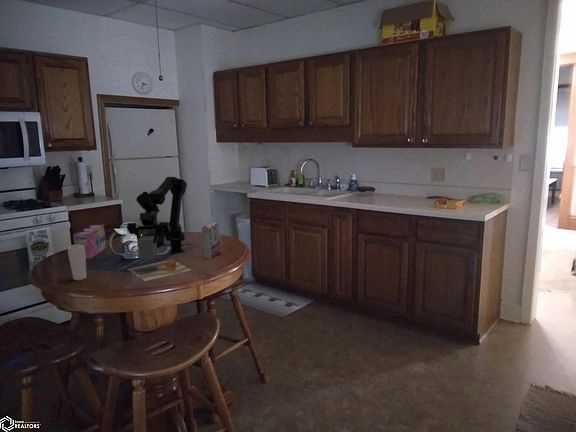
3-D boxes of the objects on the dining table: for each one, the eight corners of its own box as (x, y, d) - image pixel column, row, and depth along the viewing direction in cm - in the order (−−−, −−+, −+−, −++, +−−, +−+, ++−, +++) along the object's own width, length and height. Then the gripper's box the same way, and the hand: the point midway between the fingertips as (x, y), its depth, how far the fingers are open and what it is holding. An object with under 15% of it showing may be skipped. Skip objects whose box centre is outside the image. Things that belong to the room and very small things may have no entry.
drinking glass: (75, 276, 191) (71, 244, 188) (90, 275, 192) (86, 243, 189) (69, 281, 185) (64, 248, 182) (85, 280, 185) (80, 247, 182)
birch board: (127, 270, 198) (127, 268, 198) (171, 260, 212) (171, 259, 212) (145, 282, 182) (145, 280, 182) (191, 270, 195) (191, 269, 195)
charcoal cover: (143, 254, 198) (141, 236, 196) (157, 254, 198) (156, 235, 196) (139, 259, 191) (137, 239, 189) (153, 258, 191) (152, 239, 190)
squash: (129, 237, 239) (139, 219, 232) (150, 232, 252) (160, 215, 245) (142, 256, 235) (153, 238, 228) (163, 250, 248) (174, 233, 241)
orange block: (167, 268, 198) (167, 260, 197) (176, 268, 198) (175, 259, 197) (165, 271, 194) (165, 262, 193) (174, 270, 194) (173, 262, 194)
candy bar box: (211, 252, 224) (209, 222, 221) (220, 252, 223) (218, 222, 220) (203, 258, 214) (201, 227, 210) (212, 259, 213) (210, 227, 209)
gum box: (93, 247, 241) (91, 223, 239) (108, 246, 242) (105, 223, 239) (75, 259, 218) (72, 234, 215) (91, 259, 218) (88, 233, 216)
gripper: (125, 206, 194) (119, 235, 185) (166, 204, 194) (162, 233, 186) (132, 219, 203) (127, 247, 194) (172, 218, 204) (168, 246, 195)
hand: (146, 243), depth 192 cm, fingers closed on charcoal cover, 7 cm apart
